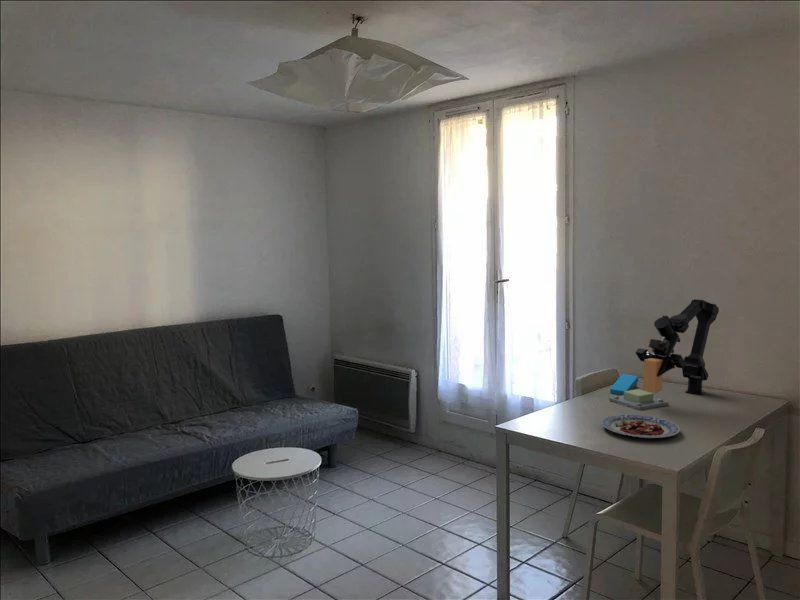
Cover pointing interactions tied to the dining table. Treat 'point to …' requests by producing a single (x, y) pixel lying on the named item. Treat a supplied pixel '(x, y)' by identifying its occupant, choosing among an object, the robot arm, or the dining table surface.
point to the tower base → (639, 405)
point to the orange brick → (652, 375)
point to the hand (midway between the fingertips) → (651, 374)
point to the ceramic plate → (640, 426)
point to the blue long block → (624, 384)
